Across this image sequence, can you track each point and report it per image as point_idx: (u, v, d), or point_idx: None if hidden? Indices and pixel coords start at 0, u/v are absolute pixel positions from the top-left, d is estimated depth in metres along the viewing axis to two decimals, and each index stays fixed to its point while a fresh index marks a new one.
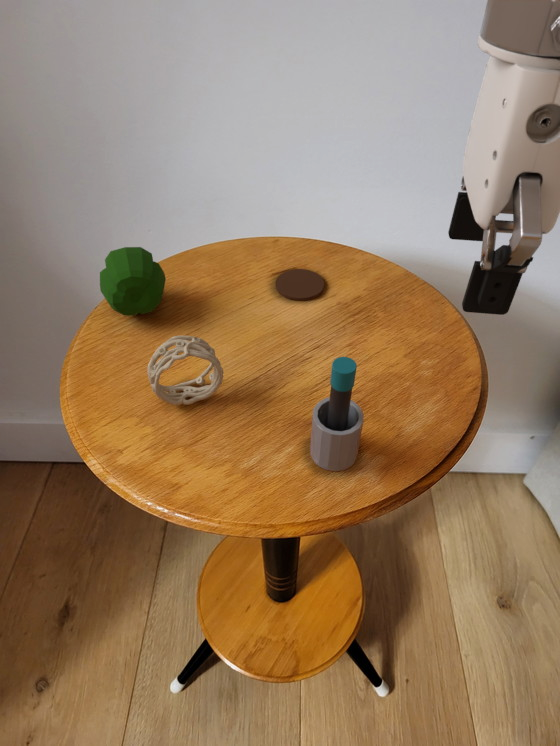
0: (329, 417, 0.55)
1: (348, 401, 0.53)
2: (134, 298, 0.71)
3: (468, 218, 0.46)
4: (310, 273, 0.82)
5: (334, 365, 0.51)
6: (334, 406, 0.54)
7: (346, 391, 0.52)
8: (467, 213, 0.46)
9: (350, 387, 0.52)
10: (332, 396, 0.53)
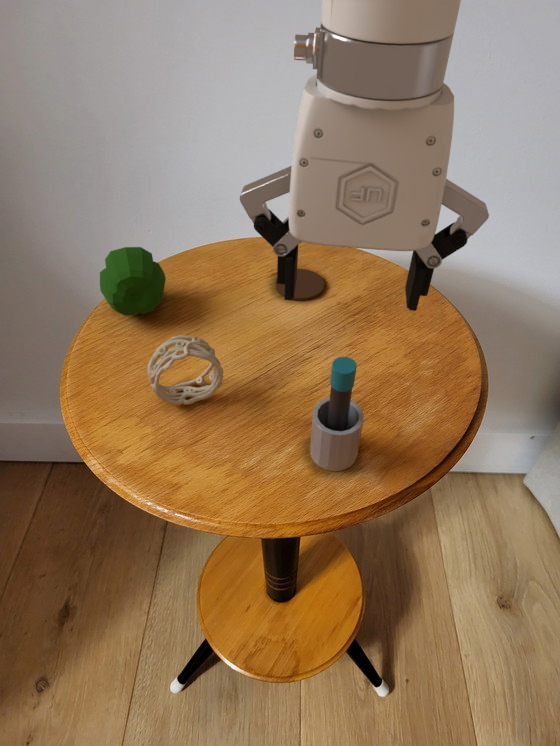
0: (329, 417, 0.55)
1: (348, 401, 0.53)
2: (134, 298, 0.71)
3: (410, 274, 0.44)
4: (310, 273, 0.82)
5: (334, 365, 0.51)
6: (334, 406, 0.54)
7: (346, 391, 0.52)
8: (411, 268, 0.44)
9: (350, 387, 0.52)
10: (332, 396, 0.53)
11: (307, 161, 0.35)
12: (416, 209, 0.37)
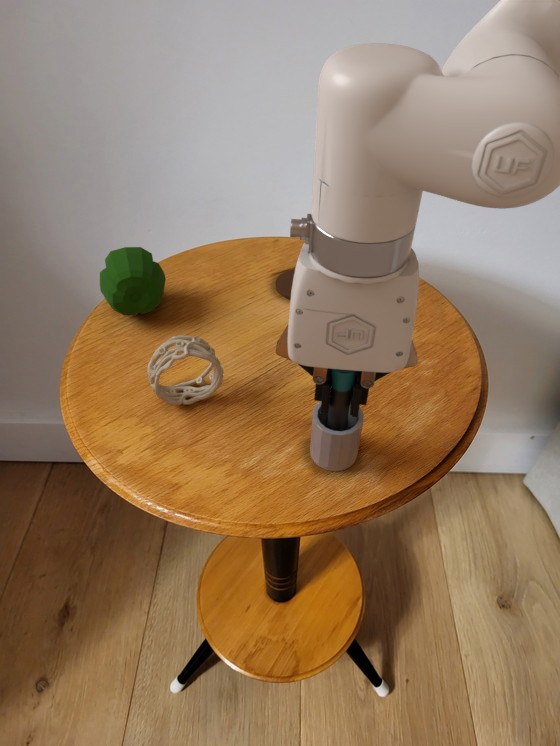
0: (329, 417, 0.55)
1: (348, 401, 0.53)
2: (134, 298, 0.71)
3: None
4: None
5: None
6: (334, 406, 0.54)
7: (346, 391, 0.52)
8: None
9: (350, 387, 0.52)
10: (332, 396, 0.53)
11: (302, 311, 0.44)
12: (391, 345, 0.45)
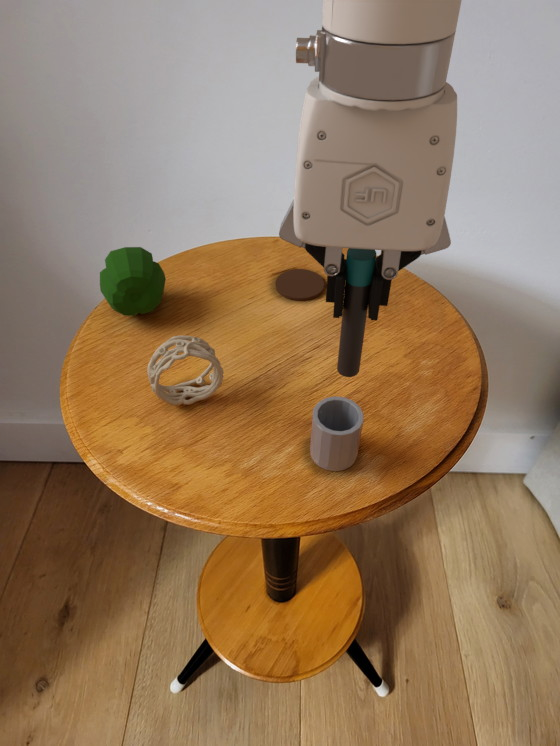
0: (343, 325, 0.47)
1: (366, 301, 0.45)
2: (134, 298, 0.71)
3: None
4: (310, 273, 0.82)
5: (349, 252, 0.42)
6: (349, 309, 0.45)
7: (364, 286, 0.43)
8: None
9: (368, 281, 0.43)
10: (347, 295, 0.45)
11: (311, 163, 0.35)
12: (421, 209, 0.37)
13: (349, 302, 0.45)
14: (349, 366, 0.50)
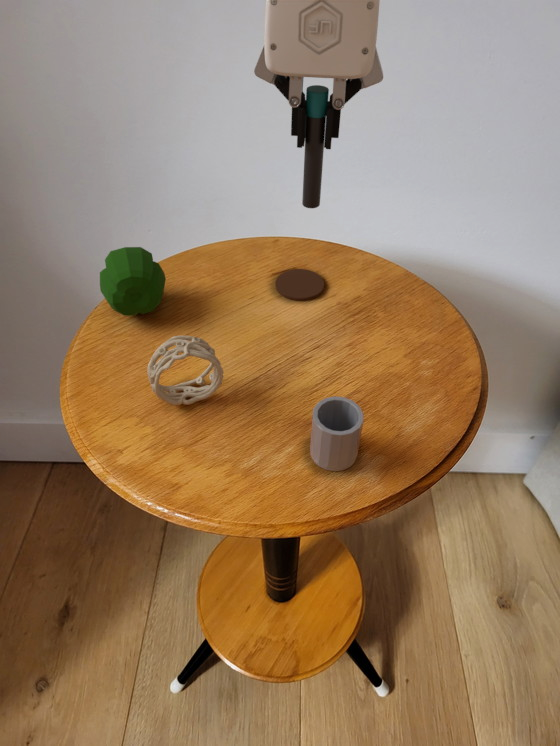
0: (305, 157, 0.60)
1: (322, 134, 0.58)
2: (134, 298, 0.71)
3: None
4: (310, 273, 0.82)
5: (308, 89, 0.56)
6: (309, 140, 0.58)
7: (319, 117, 0.57)
8: None
9: (323, 113, 0.56)
10: (307, 128, 0.58)
11: (276, 0, 0.49)
12: (357, 39, 0.50)
13: (309, 134, 0.58)
14: (311, 196, 0.63)
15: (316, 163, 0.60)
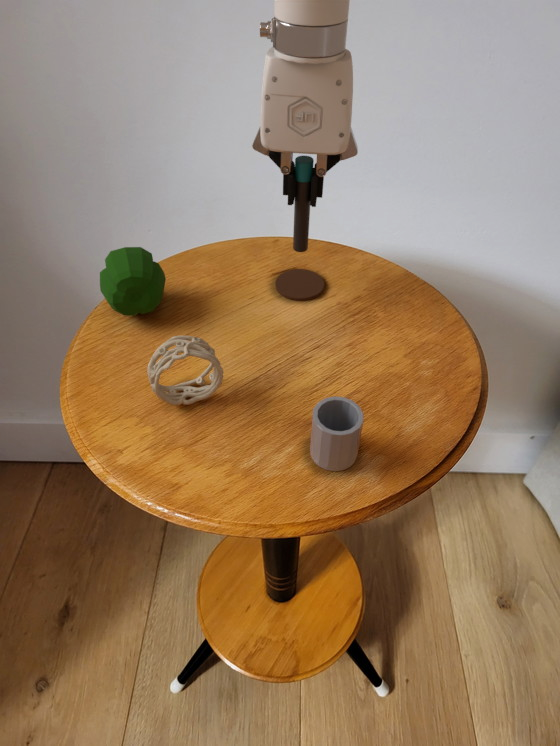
0: (295, 212, 0.72)
1: (308, 194, 0.70)
2: (134, 298, 0.71)
3: None
4: (310, 273, 0.82)
5: (297, 159, 0.68)
6: (298, 199, 0.71)
7: (306, 182, 0.69)
8: None
9: (309, 178, 0.69)
10: (296, 189, 0.70)
11: (269, 97, 0.61)
12: (335, 126, 0.62)
13: (298, 194, 0.70)
14: (300, 243, 0.75)
15: (304, 217, 0.72)
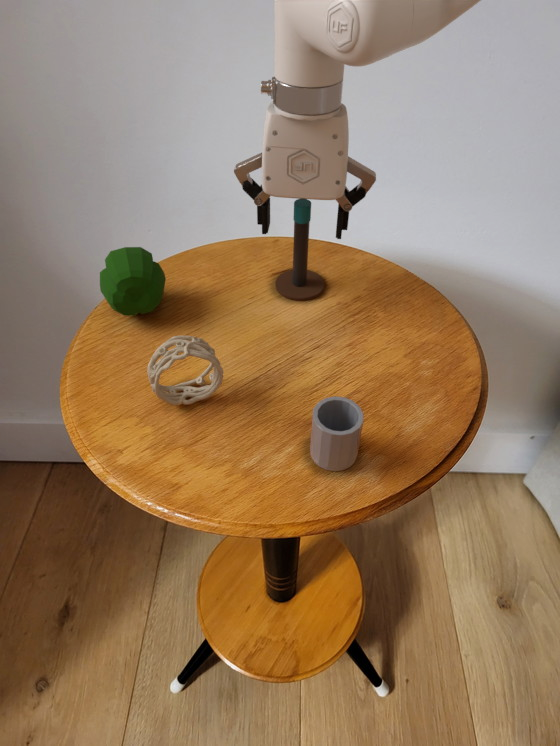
0: (294, 250, 0.76)
1: (306, 234, 0.74)
2: (134, 298, 0.71)
3: (337, 217, 0.73)
4: (310, 273, 0.82)
5: (295, 202, 0.72)
6: (297, 239, 0.75)
7: (304, 223, 0.73)
8: None
9: (307, 220, 0.73)
10: (295, 230, 0.74)
11: (270, 148, 0.65)
12: (331, 174, 0.66)
13: (296, 234, 0.74)
14: (299, 278, 0.79)
15: (302, 255, 0.76)
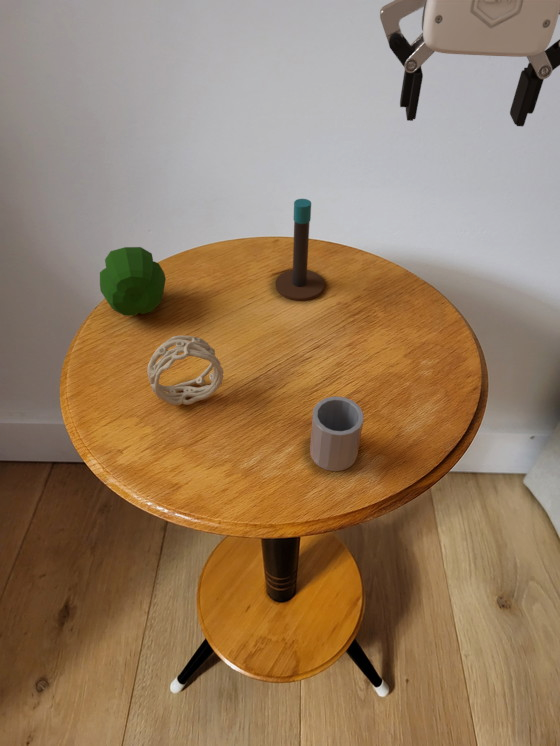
0: (294, 250, 0.76)
1: (306, 234, 0.74)
2: (134, 298, 0.71)
3: (518, 94, 0.51)
4: (310, 273, 0.82)
5: (295, 202, 0.72)
6: (297, 239, 0.75)
7: (304, 223, 0.73)
8: (519, 88, 0.50)
9: (307, 220, 0.73)
10: (295, 230, 0.74)
11: None
12: (540, 9, 0.43)
13: (296, 234, 0.74)
14: (299, 278, 0.79)
15: (302, 255, 0.76)
